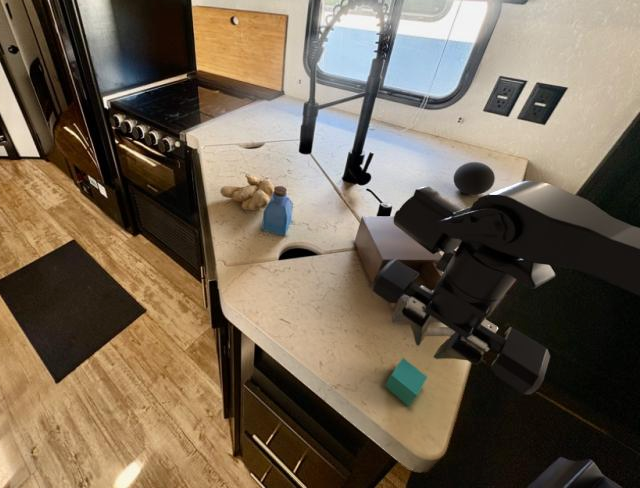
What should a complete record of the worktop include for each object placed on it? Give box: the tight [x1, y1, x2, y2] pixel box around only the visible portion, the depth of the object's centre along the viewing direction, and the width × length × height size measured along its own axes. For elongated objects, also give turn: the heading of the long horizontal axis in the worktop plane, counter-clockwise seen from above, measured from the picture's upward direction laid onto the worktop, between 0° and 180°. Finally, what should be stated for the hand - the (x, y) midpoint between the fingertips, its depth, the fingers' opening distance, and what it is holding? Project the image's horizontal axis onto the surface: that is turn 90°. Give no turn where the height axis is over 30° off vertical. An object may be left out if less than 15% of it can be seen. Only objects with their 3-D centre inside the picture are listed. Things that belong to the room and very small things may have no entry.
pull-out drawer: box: [384, 262, 455, 338], centre depth 61 cm, size 17×11×7 cm, turn 0°
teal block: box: [384, 357, 428, 407], centre depth 50 cm, size 4×4×4 cm
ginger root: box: [219, 173, 277, 211], centre depth 91 cm, size 16×16×8 cm
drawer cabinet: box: [353, 215, 443, 285], centre depth 71 cm, size 14×13×9 cm
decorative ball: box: [453, 161, 496, 196], centre depth 94 cm, size 10×10×10 cm
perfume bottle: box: [262, 185, 294, 237], centre depth 81 cm, size 6×6×12 cm
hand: (427, 349), depth 45 cm, fingers closed
